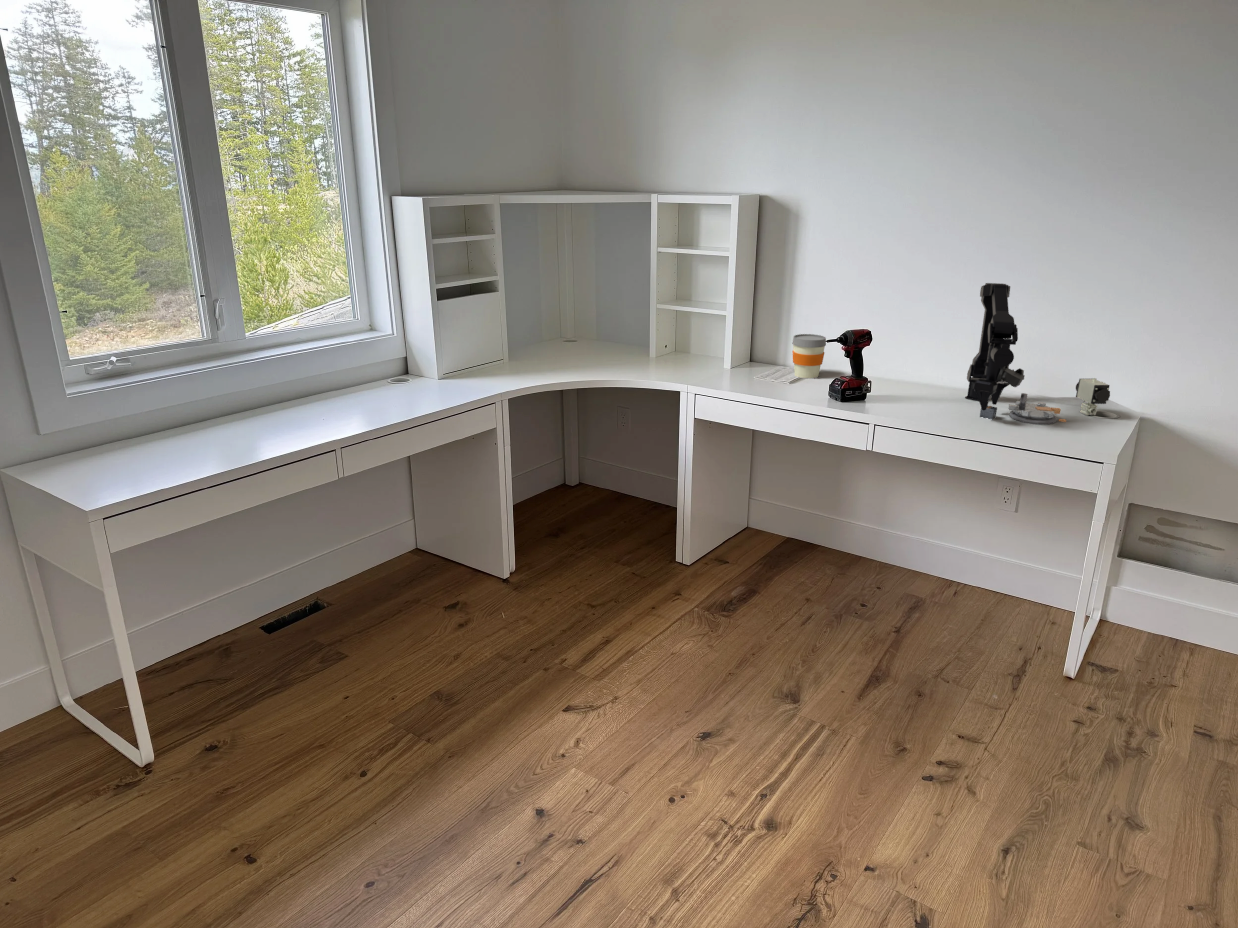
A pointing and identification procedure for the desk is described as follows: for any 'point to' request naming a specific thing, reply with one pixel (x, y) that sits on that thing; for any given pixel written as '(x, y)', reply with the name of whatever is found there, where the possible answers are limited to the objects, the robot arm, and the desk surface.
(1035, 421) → the plinth
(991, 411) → the banded grey cube
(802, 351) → the reusable coffee cup
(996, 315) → the robot arm
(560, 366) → the desk surface
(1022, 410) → the sprocket
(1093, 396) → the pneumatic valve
